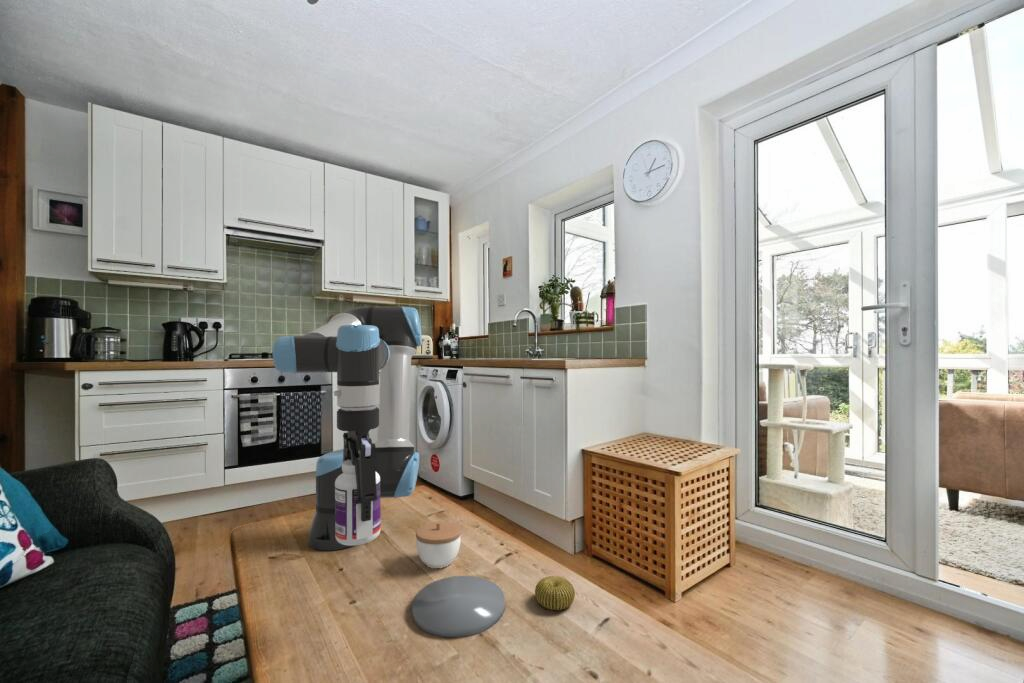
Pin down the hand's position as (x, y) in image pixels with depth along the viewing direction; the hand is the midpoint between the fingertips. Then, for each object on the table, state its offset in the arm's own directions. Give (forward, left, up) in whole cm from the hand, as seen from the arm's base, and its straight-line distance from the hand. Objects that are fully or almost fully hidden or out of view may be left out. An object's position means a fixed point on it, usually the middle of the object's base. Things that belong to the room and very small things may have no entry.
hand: (358, 528), depth 82 cm
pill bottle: (0, 0, -2) cm, 2 cm away
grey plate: (+6, +18, -17) cm, 26 cm away
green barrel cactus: (+15, +35, -18) cm, 42 cm away
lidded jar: (-13, +22, -18) cm, 31 cm away
